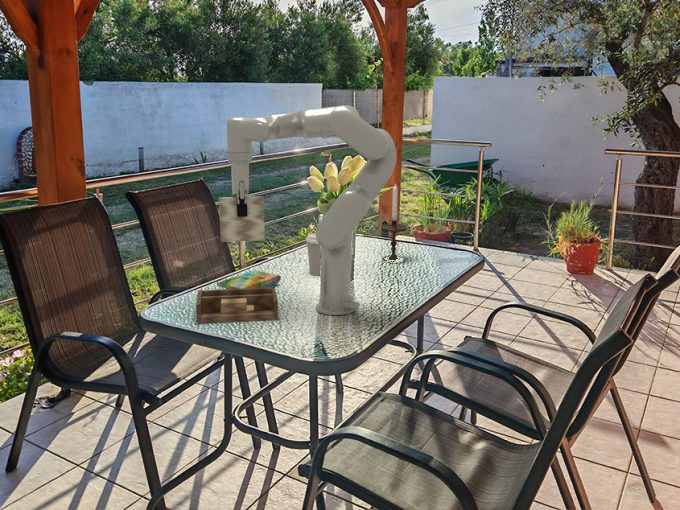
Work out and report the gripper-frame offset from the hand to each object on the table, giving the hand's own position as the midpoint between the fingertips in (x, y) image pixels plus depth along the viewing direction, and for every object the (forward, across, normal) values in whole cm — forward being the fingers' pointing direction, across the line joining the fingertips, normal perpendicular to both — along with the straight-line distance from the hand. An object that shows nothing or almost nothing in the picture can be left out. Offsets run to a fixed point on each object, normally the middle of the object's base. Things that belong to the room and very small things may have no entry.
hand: (242, 215), depth 207 cm
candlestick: (+30, -46, +63) cm, 84 cm away
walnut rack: (+30, +12, -3) cm, 32 cm away
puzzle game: (+30, -17, +2) cm, 35 cm away
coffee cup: (+30, -32, +29) cm, 53 cm away
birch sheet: (+8, 0, 0) cm, 8 cm away
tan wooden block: (+29, +14, -3) cm, 32 cm away
